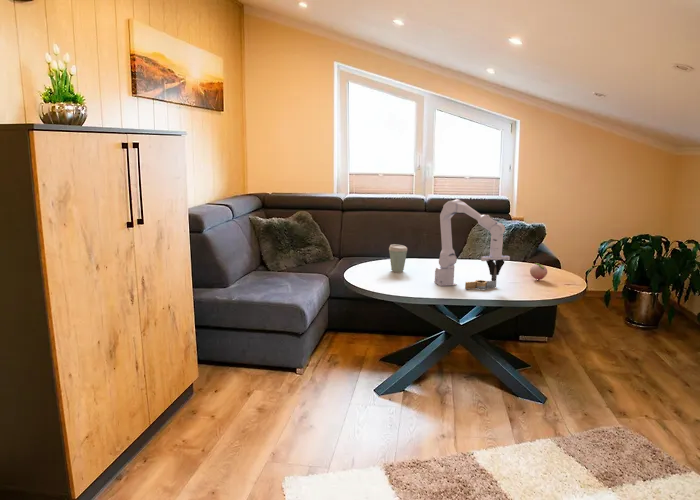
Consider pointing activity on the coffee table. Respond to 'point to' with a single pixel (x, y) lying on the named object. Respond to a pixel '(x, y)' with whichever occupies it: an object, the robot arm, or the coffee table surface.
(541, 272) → the decorative fruit
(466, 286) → the hinge
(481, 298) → the coffee table surface
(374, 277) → the coffee table surface
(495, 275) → the hinge pin
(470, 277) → the coffee table surface
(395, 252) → the disposable coffee cup
